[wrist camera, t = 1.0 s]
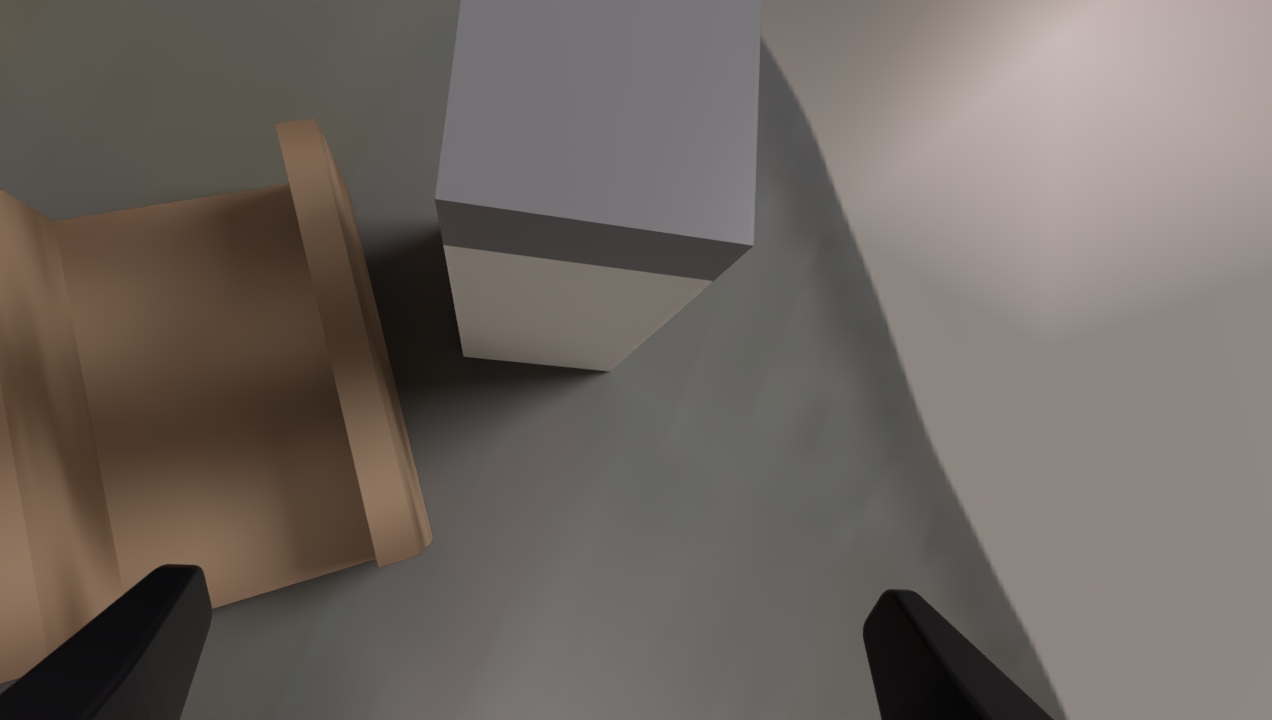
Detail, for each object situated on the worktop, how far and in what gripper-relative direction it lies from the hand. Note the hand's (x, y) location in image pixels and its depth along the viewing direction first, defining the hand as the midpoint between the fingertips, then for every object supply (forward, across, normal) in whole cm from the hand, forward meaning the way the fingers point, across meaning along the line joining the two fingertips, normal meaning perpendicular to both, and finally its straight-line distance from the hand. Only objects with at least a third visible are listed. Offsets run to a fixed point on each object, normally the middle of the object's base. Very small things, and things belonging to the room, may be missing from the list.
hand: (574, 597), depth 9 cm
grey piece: (+15, 0, +4) cm, 16 cm away
